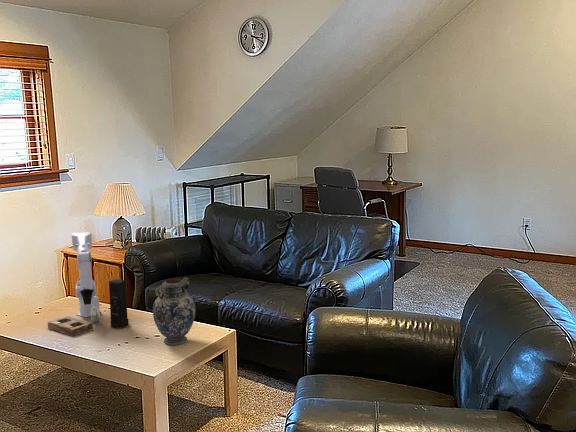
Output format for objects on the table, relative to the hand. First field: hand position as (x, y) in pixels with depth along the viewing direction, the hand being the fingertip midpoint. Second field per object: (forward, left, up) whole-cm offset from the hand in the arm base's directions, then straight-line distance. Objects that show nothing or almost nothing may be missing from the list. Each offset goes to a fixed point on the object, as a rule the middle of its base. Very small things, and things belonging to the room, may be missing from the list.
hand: (87, 304), depth 276 cm
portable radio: (-7, +14, -10) cm, 19 cm away
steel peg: (-4, 0, -10) cm, 11 cm away
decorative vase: (-8, +52, -10) cm, 54 cm away
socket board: (+8, -3, -10) cm, 14 cm away
